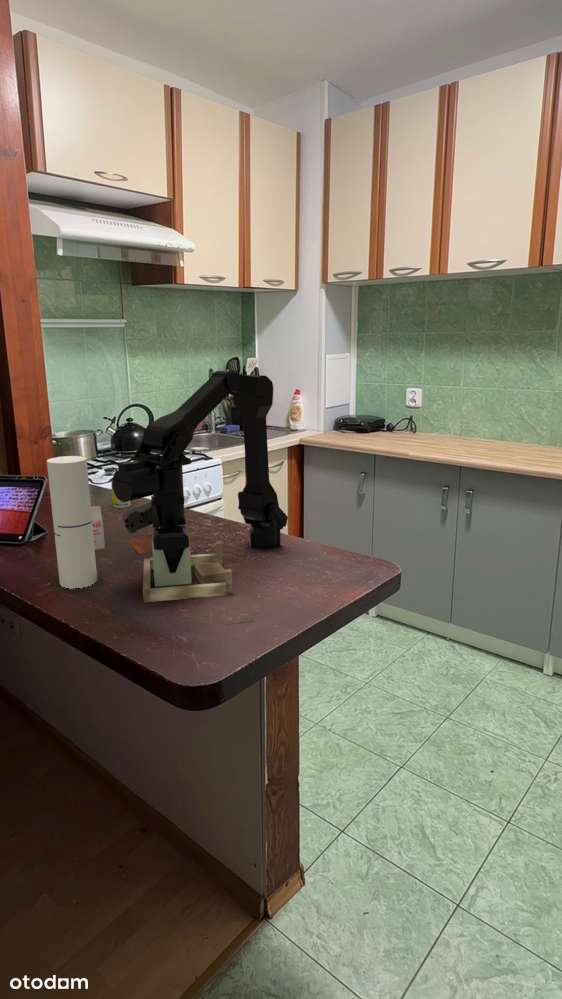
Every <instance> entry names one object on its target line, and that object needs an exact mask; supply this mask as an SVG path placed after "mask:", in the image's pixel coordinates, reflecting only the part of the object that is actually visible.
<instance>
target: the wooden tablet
mask: <svg viewBox="0 0 562 999" xmlns="http://www.w3.org/2000/svg"><path fill="white" fill-rule="evenodd" d="M153 534H154V533H150V534H145V535H144V534H143V535H141V536H135V537H131V538H129V540H128V541H129V542H128V543H129V544H130V546H131V547H132V548H133V549H134V551H136V553H137V554H144V553H145V554H146V553H153V552H152V536H153Z"/></svg>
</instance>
